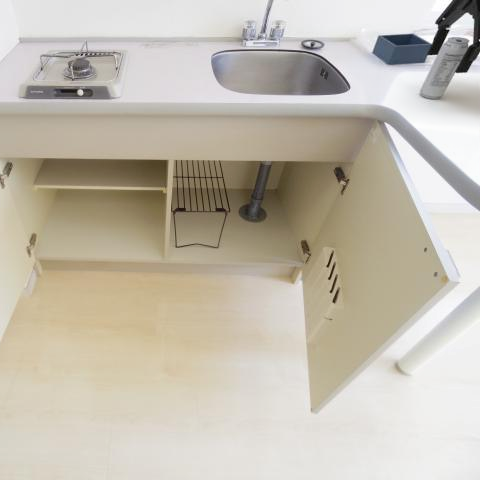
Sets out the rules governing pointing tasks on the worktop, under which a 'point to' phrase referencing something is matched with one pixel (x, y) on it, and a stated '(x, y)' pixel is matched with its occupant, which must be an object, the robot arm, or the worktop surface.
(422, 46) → the bin
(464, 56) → the robot arm
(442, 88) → the energy drink can
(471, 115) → the worktop surface
